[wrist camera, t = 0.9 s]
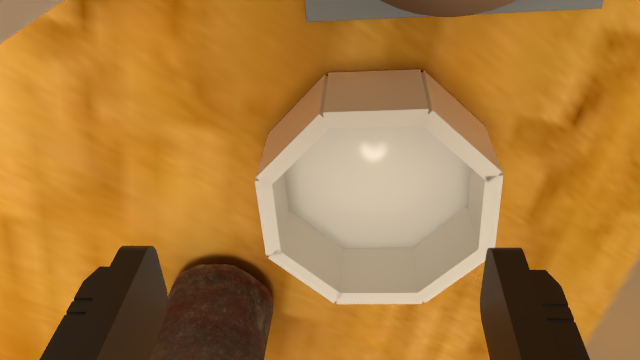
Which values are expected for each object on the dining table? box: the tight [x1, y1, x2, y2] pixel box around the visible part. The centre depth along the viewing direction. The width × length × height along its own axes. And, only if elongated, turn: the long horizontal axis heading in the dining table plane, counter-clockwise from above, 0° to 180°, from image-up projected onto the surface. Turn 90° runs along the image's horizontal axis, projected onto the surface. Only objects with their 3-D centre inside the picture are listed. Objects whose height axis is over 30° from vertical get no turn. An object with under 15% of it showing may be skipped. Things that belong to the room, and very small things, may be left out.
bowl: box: [255, 69, 503, 304], centre depth 34 cm, size 13×13×5 cm
